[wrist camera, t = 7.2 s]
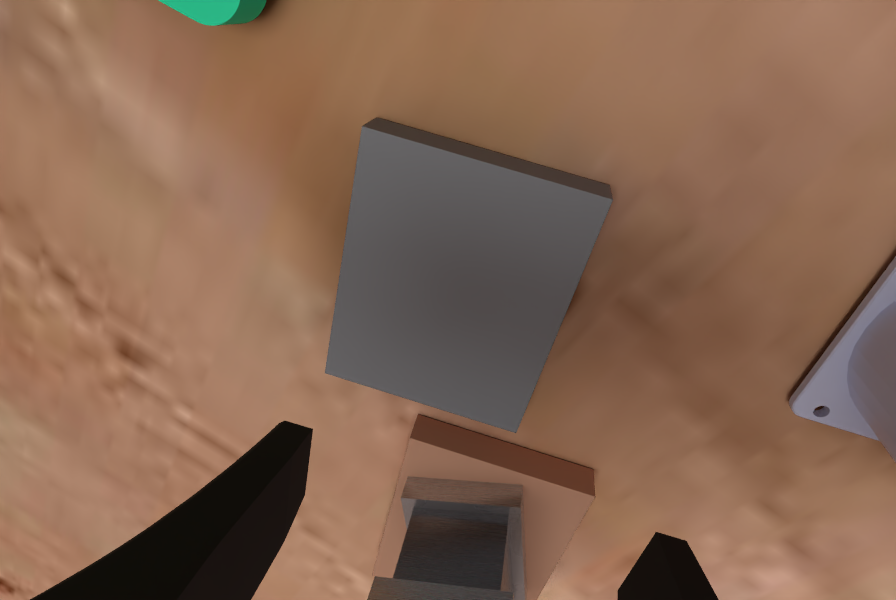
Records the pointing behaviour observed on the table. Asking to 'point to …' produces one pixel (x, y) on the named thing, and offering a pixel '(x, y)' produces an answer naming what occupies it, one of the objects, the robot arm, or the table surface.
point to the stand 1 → (457, 271)
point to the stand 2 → (491, 460)
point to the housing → (459, 543)
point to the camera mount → (218, 10)
